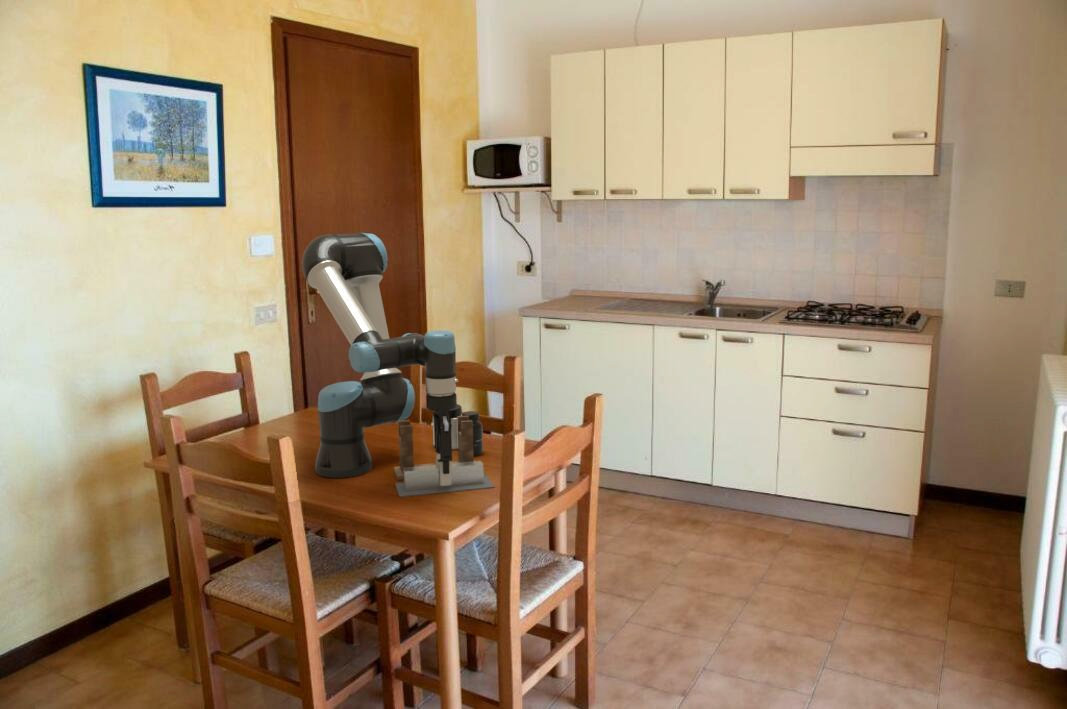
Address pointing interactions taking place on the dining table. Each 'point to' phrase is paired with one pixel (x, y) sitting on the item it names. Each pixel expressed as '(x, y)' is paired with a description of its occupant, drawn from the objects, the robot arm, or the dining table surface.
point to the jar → (453, 426)
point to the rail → (431, 475)
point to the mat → (442, 488)
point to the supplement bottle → (476, 432)
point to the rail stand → (408, 461)
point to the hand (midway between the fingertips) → (444, 481)
